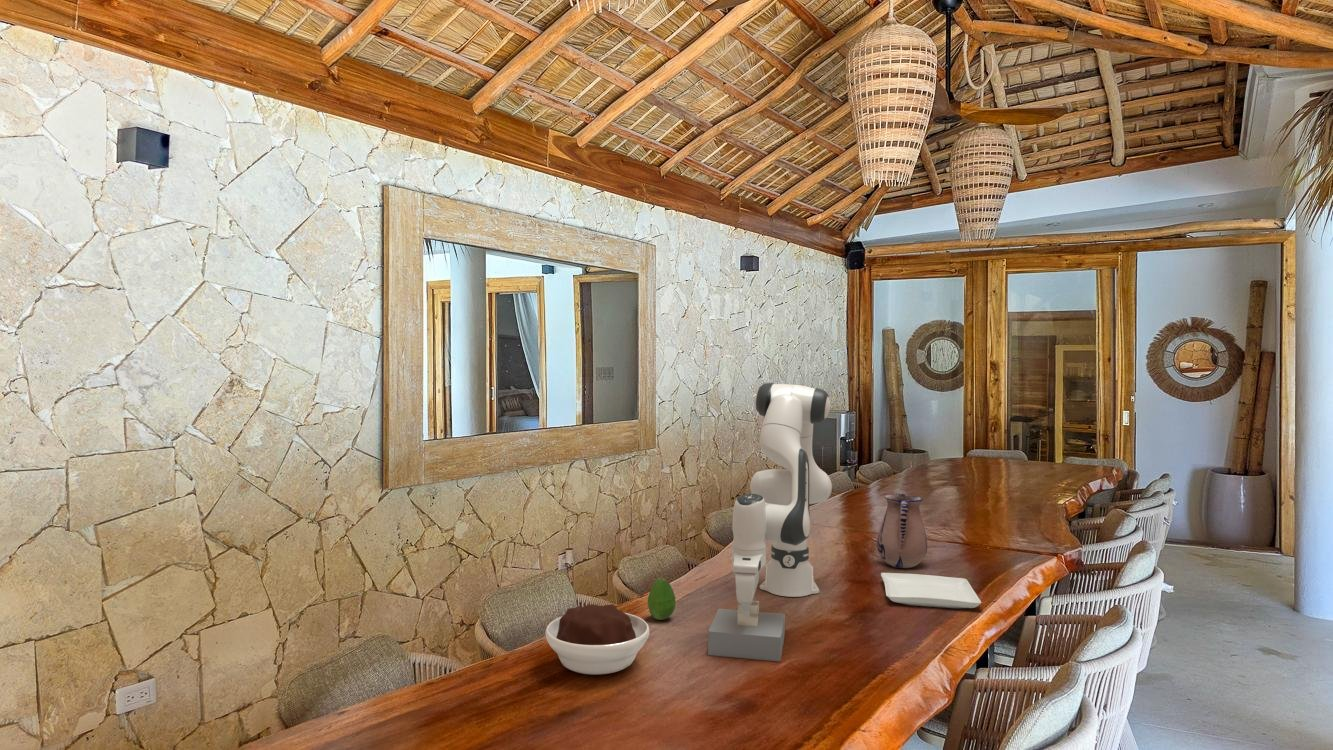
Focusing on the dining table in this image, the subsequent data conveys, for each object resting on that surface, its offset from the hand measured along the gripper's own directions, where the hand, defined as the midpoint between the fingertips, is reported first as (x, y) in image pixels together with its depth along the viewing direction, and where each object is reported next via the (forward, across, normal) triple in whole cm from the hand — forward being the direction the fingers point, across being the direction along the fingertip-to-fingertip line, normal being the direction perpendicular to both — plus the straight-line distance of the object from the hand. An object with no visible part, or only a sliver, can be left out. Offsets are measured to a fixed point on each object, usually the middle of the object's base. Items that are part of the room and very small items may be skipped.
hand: (748, 610), depth 205 cm
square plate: (+10, -55, +51) cm, 76 cm away
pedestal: (+9, 0, 0) cm, 9 cm away
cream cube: (+3, 0, 0) cm, 3 cm away
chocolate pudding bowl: (+9, +22, -34) cm, 42 cm away
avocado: (+9, -14, -26) cm, 31 cm away
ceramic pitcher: (+9, -89, +46) cm, 101 cm away
